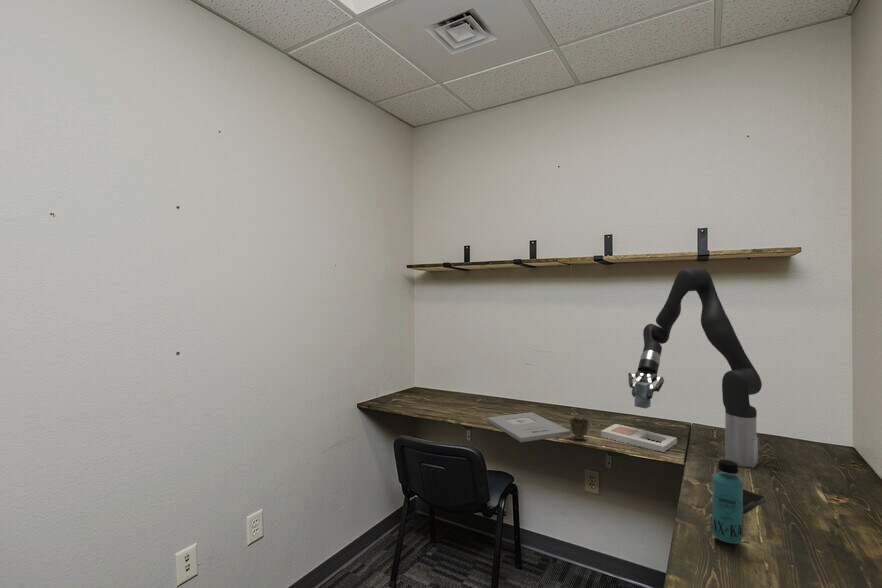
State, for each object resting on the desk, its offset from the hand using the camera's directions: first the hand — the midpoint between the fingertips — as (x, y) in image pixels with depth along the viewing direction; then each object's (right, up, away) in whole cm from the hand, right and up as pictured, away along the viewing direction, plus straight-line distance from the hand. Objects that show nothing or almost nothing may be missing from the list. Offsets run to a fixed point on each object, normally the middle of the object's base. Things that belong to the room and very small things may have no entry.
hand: (641, 397), depth 175 cm
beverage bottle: (-11, -19, -69) cm, 73 cm away
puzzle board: (0, -18, +2) cm, 19 cm away
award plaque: (-43, -19, +19) cm, 50 cm away
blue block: (+1, -4, +1) cm, 5 cm away
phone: (+6, -20, -48) cm, 52 cm away
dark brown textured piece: (-24, -19, +4) cm, 31 cm away
